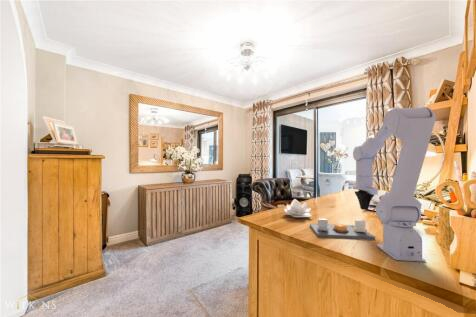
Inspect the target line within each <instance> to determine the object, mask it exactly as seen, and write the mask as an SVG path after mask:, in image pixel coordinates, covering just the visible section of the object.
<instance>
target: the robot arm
mask: <svg viewBox="0 0 476 317" xmlns="http://www.w3.org/2000/svg"><path fill="white" fill-rule="evenodd" d="M436 120H437V115H436V114H435V112H434V110H433V109H431V108H430V107H428V106H423V107H400V108H399V107H391V108H389V109H388V110H387V112H386V113H385V114H384V116H383V119H382V123H383V124H382V125H381V126H380V128H379V129H378V130H377V132H376V133H375V134H373V135H369V136H368V137H367V139H366V140H365V141H364V142H363V143H362V144H361V145H358V146H355V147H354V148H353V150H352V157H353V159H354V161H355V184H352V189H353V190H356V191H354V194H355V196H356V197H357V201H358V202H359V203H358V204H359V207H360V210H363V211H364V210H365V211H368V210H369V207H370V204H371V202H372V199H373V197H375V195H379V194H378V193H379V192H378V189H377V188H376V186H374V185H373V182H374V181H373V180H374V179H373V178H374V176H373V175H374V174H373V173H374V172H373V170H374V169H373V167H374V164H375V160H376V157H377V153H378V152H379V151H380V150H382V148H383V147H384V146H385V141H386V140H388V139H389V138H390V137H391V136H394V137H395V138H397V139H398V140H400V141H401V142H402V144H401V146H400V152H399V156H398V159H397V163H396V168H395V170H394V176H393V180H392V184H391V188H390V190H389V192H387V193H386V192H385V193H384V194H382V195H383V196H382V195H380V196H381V198H380V199H379V201H378V203H377V204H376V206H375V214H376V216H377V218H378V220H379V219H380V222H381V223H382V243H381V244H380V243H378V244H376V246H377V247H378V248H379V249H381V250H382V251H383V252H385V253H386V255H388V256H390V257H391V258H392V259H394V260H397V261H406V262H407V261H409V262H410V261H411V262H422V263H424V262H425V263H426V262H427V261H426V258H423V239H422V236H421V234H419V232H418V231H416V230H415V229H414V227H416V226H417V223H419V222H420V221H421V219H422V205H423V204H422V203H421V202H420V200H419V199H418V198H416V197H415V193H416V192H415V191H416V189H417V185H418V183H419V182H418V181H419V179H420V175H421V172H422V168H423V165H424V162H425V159H426V155H427V151H428V148H429V146H430V141H431V136H432V134H433V129H434V126H435V122H436Z"/></svg>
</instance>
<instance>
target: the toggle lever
mask: <svg viewBox="0 0 476 317" xmlns="http://www.w3.org/2000/svg"><path fill="white" fill-rule="evenodd" d="M354 225H355V227H354V230H355V231H356V232H367V231H368V229H367V228H366V220H364V219H355V220H354Z"/></svg>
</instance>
